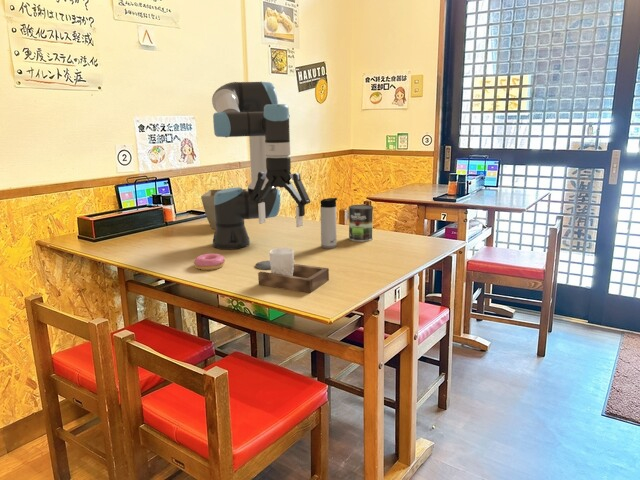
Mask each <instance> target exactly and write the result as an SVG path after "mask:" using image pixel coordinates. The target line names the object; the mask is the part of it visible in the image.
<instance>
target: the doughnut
mask: <svg viewBox="0 0 640 480" xmlns="http://www.w3.org/2000/svg"><path fill="white" fill-rule="evenodd" d="M225 262H226V258H225V257H224V256H223V255H222V254H219V253H204V254H200V255H197V257H195V258H194V261H193V265H194V267H195V269H198V270H200V269H201V271H214V269H215V270H217V269H218V268H219V269H221V268H222V267H223V266H224V265H225ZM219 269H218V270H219Z"/></svg>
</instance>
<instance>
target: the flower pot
mask: <svg viewBox="0 0 640 480" xmlns="http://www.w3.org/2000/svg"><path fill="white" fill-rule="evenodd" d="M224 189H225V188H224ZM224 189H223V188H221V189H209V190H208V191H206V192H204V193H203V194H201V195H200V197H201V198H200V199H201V202H202V203H201V204H202V206H203V210H204V213H205V216H206V218H207V221H208V224H209V226H210V229H212V230H216V219H215V205H214V195H215V193H216V192H218V191H220V190H224ZM242 189H243V191H248V188H242Z"/></svg>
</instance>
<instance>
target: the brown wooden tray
mask: <svg viewBox="0 0 640 480" xmlns="http://www.w3.org/2000/svg"><path fill="white" fill-rule="evenodd" d="M329 268H330V267H329ZM329 268H328V267H321V266H314V265H305V264H300V263H299V264H298V263H294V270H293V276H288V275H282V274H275V273H271V272H267V271H258V272H257V276H258V285H259V286H265V287H270V288H276V289H283V290H289V291H295V292H296V291H297V292H301V293H308V294H312V293H313V292H314V291H316V290H317V289H318V288H319V287H321V286H323V285H324V284H325V283H327V282H328V281H329V280H330V277H329V276H330V270H329Z"/></svg>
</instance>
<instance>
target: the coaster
mask: <svg viewBox="0 0 640 480" xmlns="http://www.w3.org/2000/svg"><path fill="white" fill-rule="evenodd" d="M255 268H256V269H257V270H258V269H259V270H265V271H266V270H268V271H269V270H270V271H271V266H270V260H262V261H259V262H257V263H255Z"/></svg>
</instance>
